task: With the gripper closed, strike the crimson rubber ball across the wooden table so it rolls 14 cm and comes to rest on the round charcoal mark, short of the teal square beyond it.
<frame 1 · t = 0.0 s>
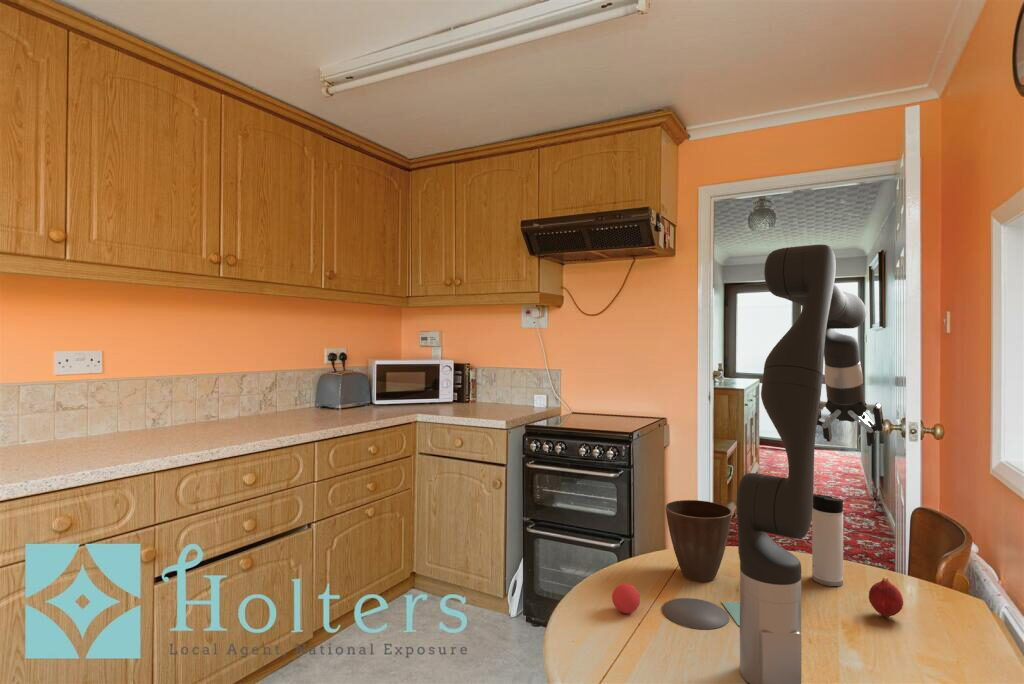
hand: (849, 442, 136), 31 cm above the table, tool tilted 20°, fingers open, 8 cm apart
ball: (626, 598, 117), on the table
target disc: (695, 613, 116), on the table
plant pot: (697, 576, 135), on the table
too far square: (754, 614, 116), on the table
travel mug: (826, 582, 132), on the table
onion: (885, 618, 115), on the table
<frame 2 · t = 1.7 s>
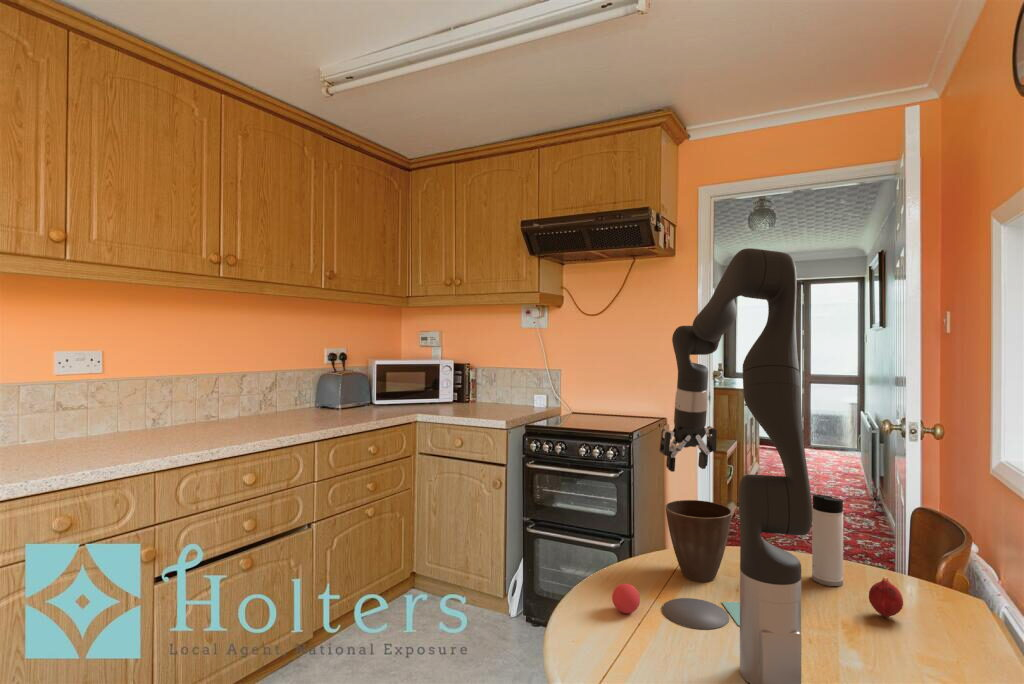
hand: (686, 469, 142), 24 cm above the table, tool pointing down, fingers open, 8 cm apart
nothing on the table moved.
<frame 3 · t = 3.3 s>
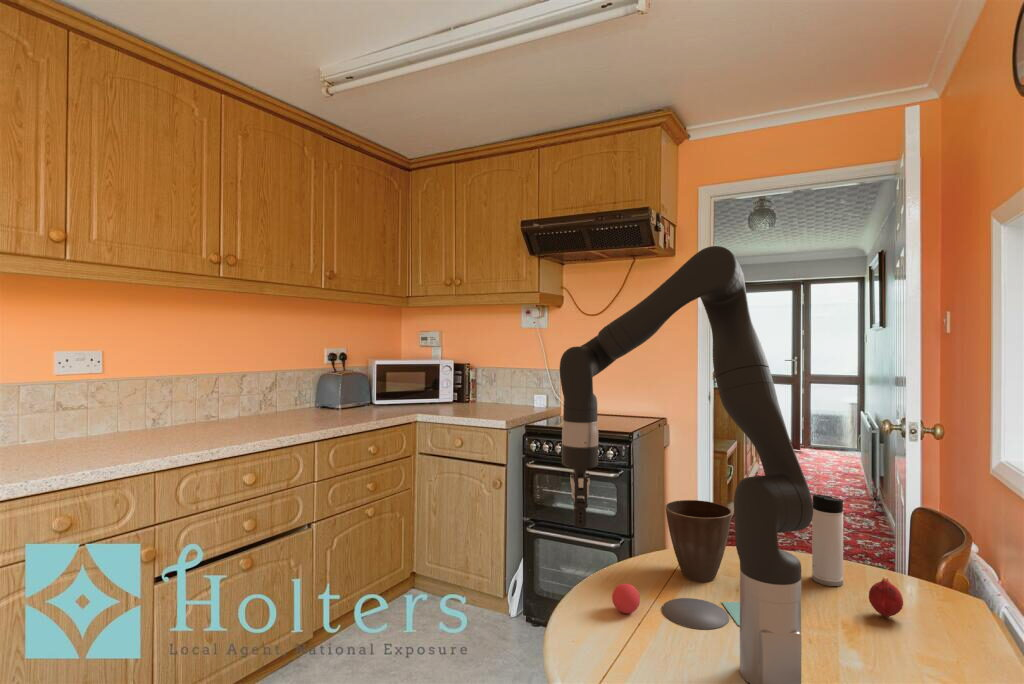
hand: (579, 520, 118), 18 cm above the table, tool pointing down, fingers open, 8 cm apart
nothing on the table moved.
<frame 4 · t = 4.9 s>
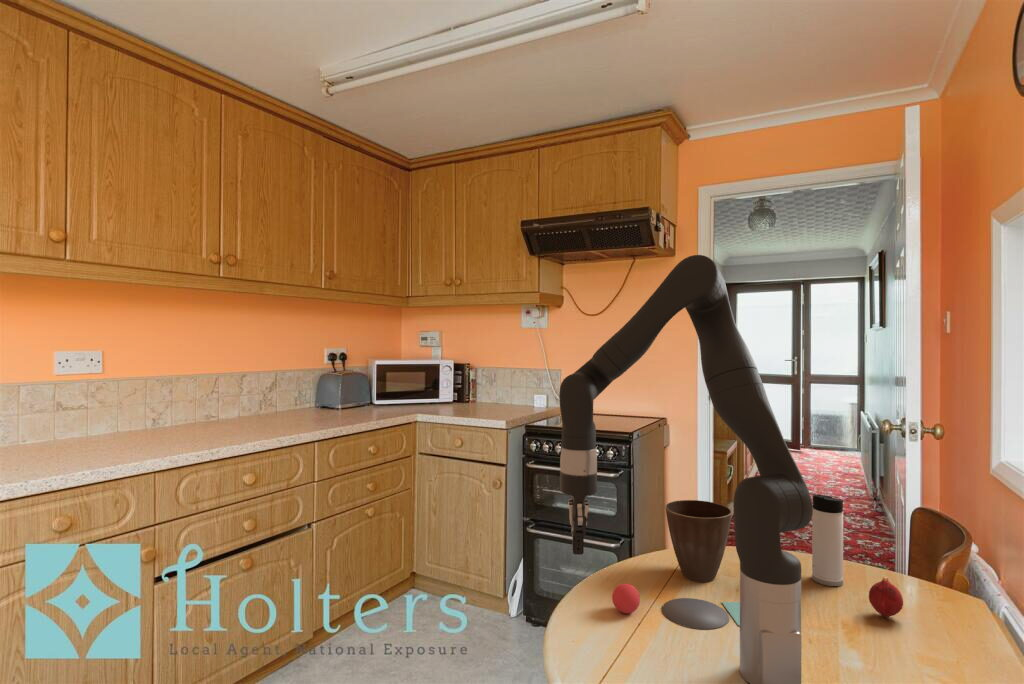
hand: (577, 553, 117), 12 cm above the table, tool pointing down, fingers closed
nothing on the table moved.
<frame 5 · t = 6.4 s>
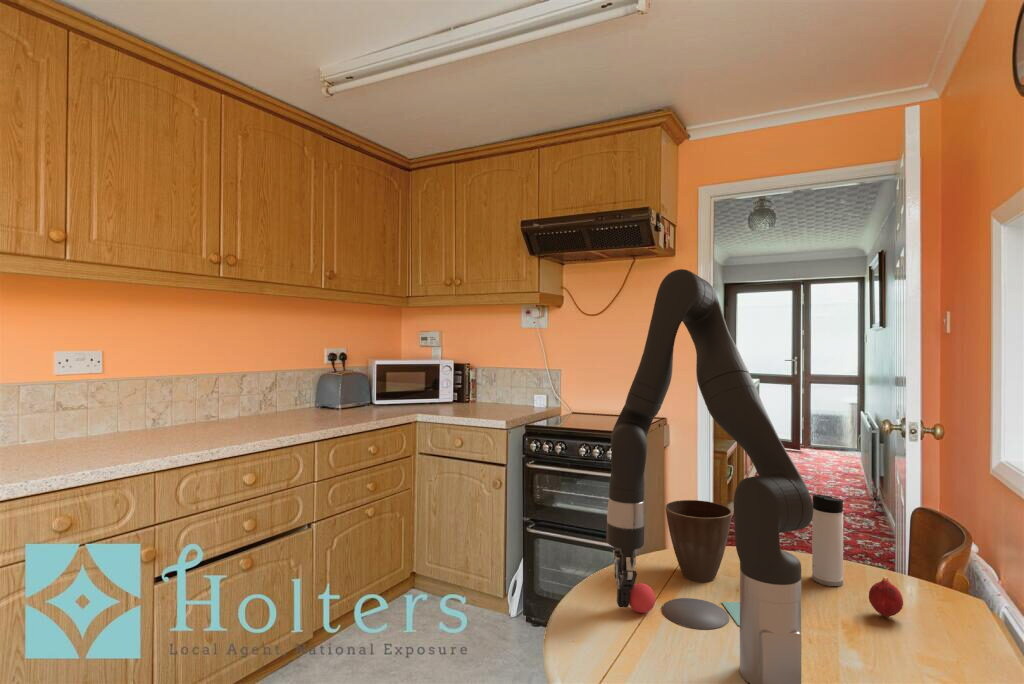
hand: (622, 605, 116), 1 cm above the table, tool pointing down, fingers closed
ball: (641, 597, 117), on the table, touching gripper
everything else where it was.
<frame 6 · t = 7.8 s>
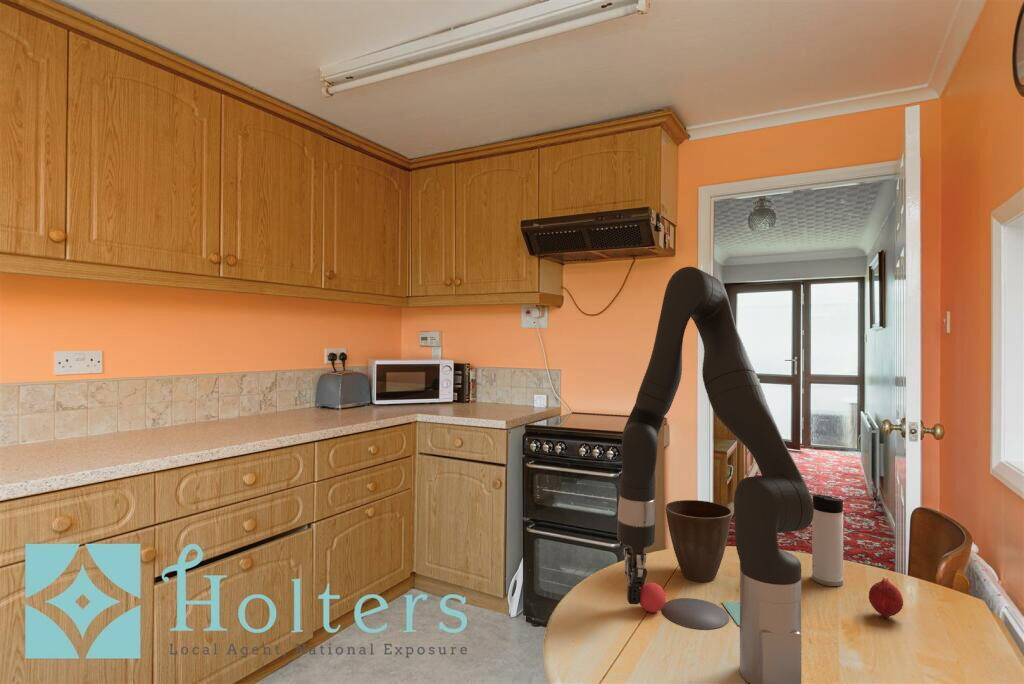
hand: (632, 602, 117), 2 cm above the table, tool pointing down, fingers closed
ball: (651, 597, 117), on the table, touching gripper
everything else where it was.
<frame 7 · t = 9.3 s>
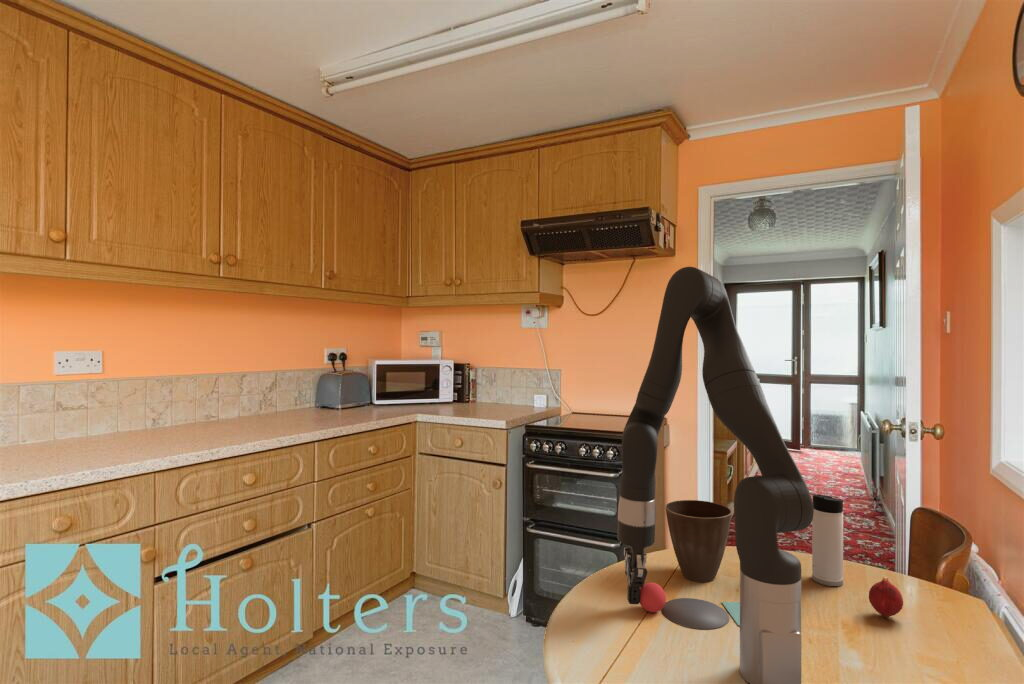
hand: (633, 602, 117), 2 cm above the table, tool pointing down, fingers closed
nothing on the table moved.
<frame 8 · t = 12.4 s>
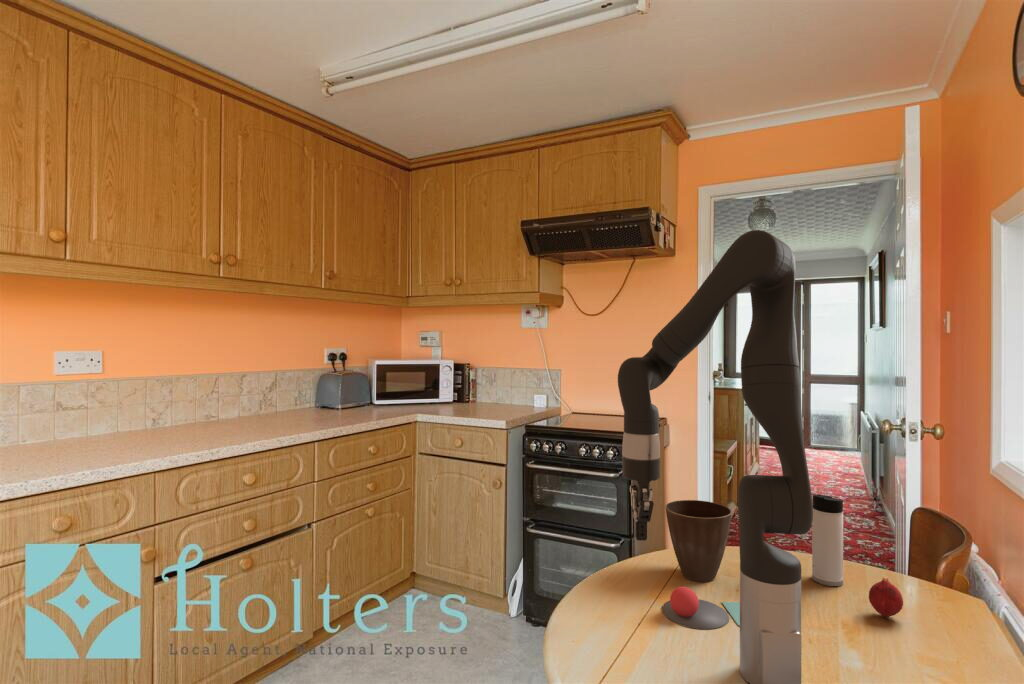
hand: (640, 539, 116), 15 cm above the table, tool pointing down, fingers closed
ball: (684, 601, 115), on the table
everything else where it was.
at the end: ball 2.6 cm from the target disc (horizontally); ball at rest at the end (0.0 cm/s); ball moved 11.6 cm from its start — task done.
